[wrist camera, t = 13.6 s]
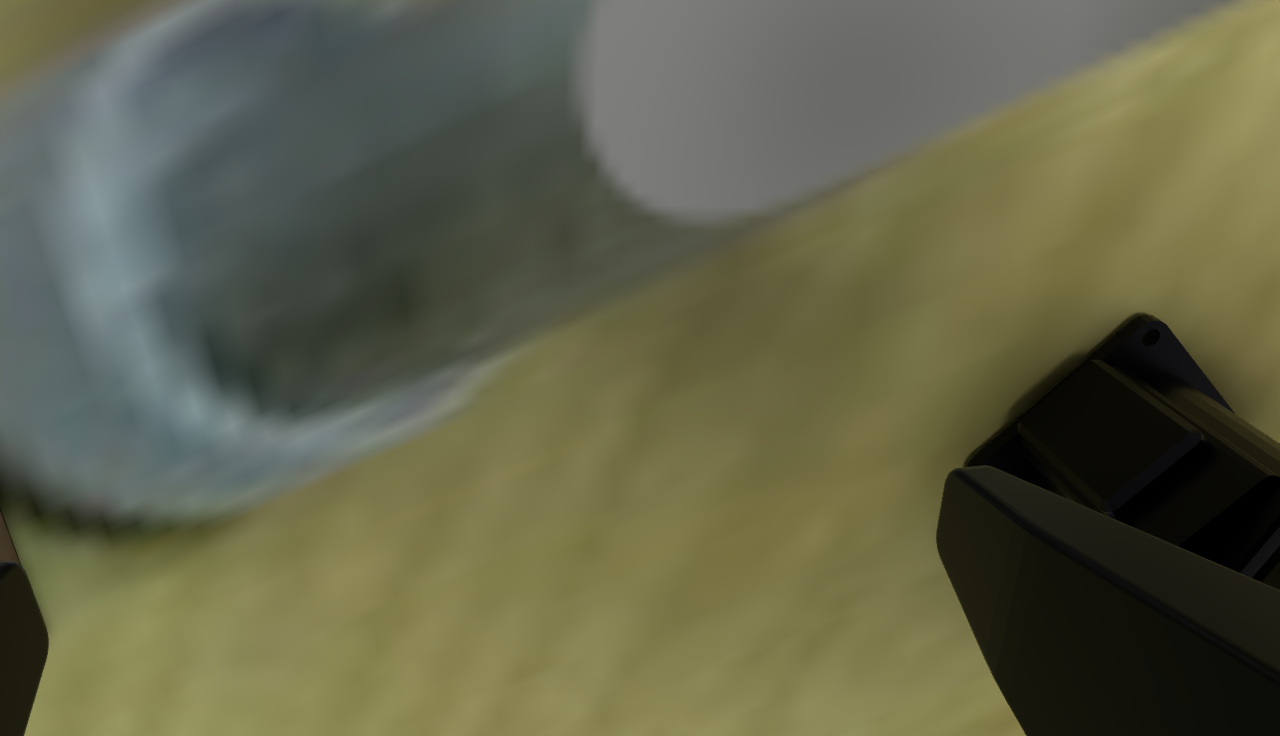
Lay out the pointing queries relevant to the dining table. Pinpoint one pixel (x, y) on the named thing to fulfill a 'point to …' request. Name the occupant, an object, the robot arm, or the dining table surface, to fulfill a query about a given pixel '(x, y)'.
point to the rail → (6, 544)
